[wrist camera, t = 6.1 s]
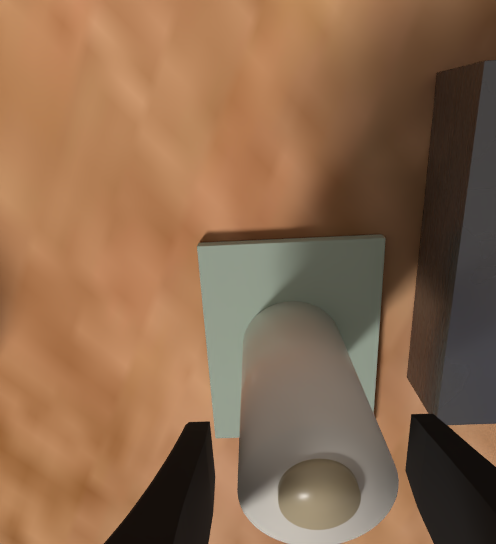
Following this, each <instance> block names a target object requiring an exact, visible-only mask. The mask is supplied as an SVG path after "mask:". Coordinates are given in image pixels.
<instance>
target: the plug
mask: <svg viewBox="0 0 496 544" xmlns="http://www.w3.org/2000/svg"><path fill="white" fill-rule="evenodd" d="M398 481H399V480H398V473H397V470H396V467H395V464H394V461H393V459H392V457H391V454H390V452H389V449H388V447H387V445H386V442H385V440H384V437H383V435H382V433H381V430H380V428H379V425H378V423H377V421H376V418H375V416H374V414H373V411H372V409H371V406H370V404H369V402H368V399H367V397H366V394H365V392H364V390H363V387H362V385H361V382H360V380H359V378H358V375H357V373H356V370H355V368H354V366H353V363H352V361H351V358H350V356H349V354H348V351H347V349H346V347H345V344H344V342H343V339H342V337H341V335H340V332H339V330H338V328H337V326H336V324H335V322H334V321H333V319H332V318H331V317H330V316H329V315H328V314H327V313H326V312H325V311H323V310H322V309H320V308H319V307H317V306H314V305H312V304H309V303H305V302H299V301H288V302H281V303H277V304H274V305H272V306H270V307H267V308H266V309H264V310H263V311H261V312H260V313H259V314H257V315H256V316H255V317H254V318H253V319H252V321H251V322H250V324H249V325H248V327H247V329H246V331H245V334H244V338H243V353H242V381H241V408H240V436H239V463H238V499H239V502H240V505H241V508H242V510H243V512H244V514H245V515H246V516H247V518H248V519H249V520H250V521H251V523H252V524H253V525H254V526H255V527H257V528H258V529H259V530H260V531H262V532H263V533H265V534H267V535H268V536H270V537H272V538H274V539H277V540H279V541H282V542H285V543H289V544H339V543H343V542H347V541H349V540H352V539H355V538H357V537H359V536H361V535H363V534H365V533H366V532H368V531H370V530H371V529H372V528H374V527H375V526H376V525H378V524H379V523H380V522H381V521H382V520H383V519H384V518H385V516H386V515H387V514H388V512H389V511H390V509H391V508H392V506H393V504H394V502H395V499H396V497H397V492H398Z"/></svg>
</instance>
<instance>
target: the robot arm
mask: <svg viewBox="0 0 496 544" xmlns="http://www.w3.org/2000/svg"><path fill="white" fill-rule="evenodd" d="M406 473H407V477H408V480H409V483H410V486H411V489H412V492H413V495H414V498H415V501H416V504H417V507H418V509H419V512H420V514H421V516H422V518H423V521H424V523H425V525H426V527H427V529H428V532H429V534H430V536H431V538H432V540H433V543H434V544H496V467H495V466H494V465H493V464H491V463H490V462H489V461H488V460H487V459H485V458H484V457H483V456H482V455H481V454H479V453H478V452H477V451H476V450H475V449H474V448H472V447H471V446H470V445H469V444H468V443H467V442H465V441H464V440H463V439H462V438H461V437H460V436H459V435H457V434H456V433H455V432H454V431H453V430H452V429H451V428H449V427H448V426H447V425H446V424H445V423H444V422H442V421H441V420H440V419H439V418H438V417H437V416H435V415H434V414H411V423H410V433H409V442H408V451H407V461H406ZM214 490H215V469H214V459H213V449H212V439H211V429H210V422H188V423H187V424H186V425H185V427H184V429H183V431H182V433H181V435H180V437H179V439H178V440H177V442H176V444H175V446H174V447H173V449H172V451H171V452H170V454H169V456H168V457H167V459H166V461H165V462H164V464H163V465H162V467H161V468H160V470H159V472H158V473H157V475H156V476H155V478H154V479H153V481H152V482H151V484H150V485H149V487H148V488H147V489H146V491H145V492H144V494H143V495H142V496H141V498H140V499H139V500H138V502H137V503H136V505H135V506H134V507H133V509H132V510H131V511H130V513H129V514H128V515H127V516H126V518H125V519H124V520H123V522H122V523H121V524H120V525H119V526H118V528H117V529H116V530H115V531H114V532H113V534H112V535H111V536H110V537H109V538H108V539H107V541H106V542H105V543H104V544H208V542H209V536H210V529H211V523H212V517H213V506H214Z"/></svg>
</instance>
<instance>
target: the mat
mask: <svg viewBox="0 0 496 544" xmlns="http://www.w3.org/2000/svg"><path fill="white" fill-rule="evenodd" d="M197 251H198V261H199V271H200V282H201V292H202V303H203V313H204V323H205V334H206V344H207V354H208V365H209V375H210V385H211V396H212V406H213V416H214V427H215V437H216V438H238V437H239V436H240V408H241V381H242V353H243V338H244V334H245V331H246V329H247V327H248V325H249V324H250V322H251V321H252V319H253V318H254V317H255V316H256V315H257V314H259V313H260V312H261V311H263V310H264V309H266V308H267V307H270V306H272V305H274V304H277V303H281V302H288V301H299V302H305V303H309V304H312V305H314V306H317V307H319V308H320V309H322V310H323V311H325V312H326V313H327V314H328V315H329V316H330V317H331V318H332V319H333V321H334V322H335V324H336V326H337V328H338V330H339V332H340V335H341V337H342V339H343V342H344V344H345V347H346V349H347V351H348V354H349V356H350V358H351V361H352V363H353V366H354V368H355V370H356V373H357V375H358V378H359V380H360V382H361V385H362V387H363V390H364V392H365V394H366V397H367V399H368V402H369V404H370V406H371V409H372V411H373V414H374V400H375V385H376V370H377V356H378V341H379V326H380V312H381V297H382V282H383V268H384V253H385V237H384V236H383V235H382V234H379V235H357V236H335V237H313V238H291V239H270V240H248V241H226V242H204V243H198V246H197Z"/></svg>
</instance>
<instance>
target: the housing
mask: <svg viewBox="0 0 496 544" xmlns="http://www.w3.org/2000/svg"><path fill="white" fill-rule="evenodd" d="M407 378H408V380H409V382H410V383H411V385H412V387H413V388H414V390H415V392H416V393H417V395H418V397H419V398H420V400H421V402H422V403H423V405H424V407H425V408H426V410H427V412H428V413H429V414H434V415H435V416H437V417H438V418H439V419H440V420H441V421H442V422H444V423H445V424H446V425H466V424H495V423H496V60H492V61H482V62H478V63H474V64H470V65H466V66H462V67H458V68H454V69H450V70H446V71H443V72H439V73H437V78H436V88H435V98H434V108H433V119H432V129H431V139H430V149H429V159H428V169H427V179H426V189H425V200H424V210H423V220H422V230H421V240H420V250H419V260H418V270H417V280H416V291H415V301H414V311H413V321H412V331H411V341H410V351H409V361H408V371H407Z"/></svg>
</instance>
